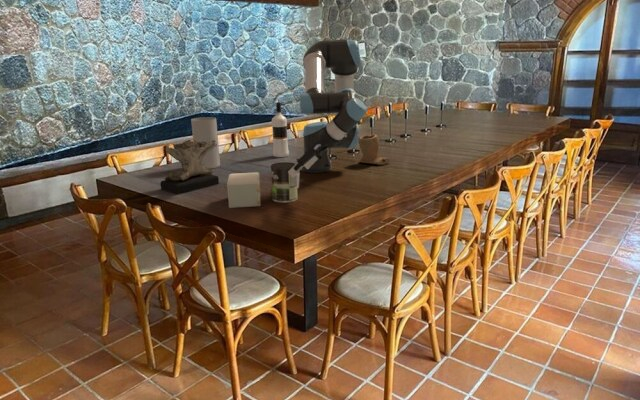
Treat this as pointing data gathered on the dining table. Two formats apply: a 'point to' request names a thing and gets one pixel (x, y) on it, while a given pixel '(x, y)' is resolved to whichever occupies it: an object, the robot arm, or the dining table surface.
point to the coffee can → (283, 183)
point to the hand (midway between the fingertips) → (298, 170)
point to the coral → (190, 168)
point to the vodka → (279, 134)
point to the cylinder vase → (207, 139)
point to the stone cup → (371, 150)
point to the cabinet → (243, 190)
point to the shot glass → (298, 179)
